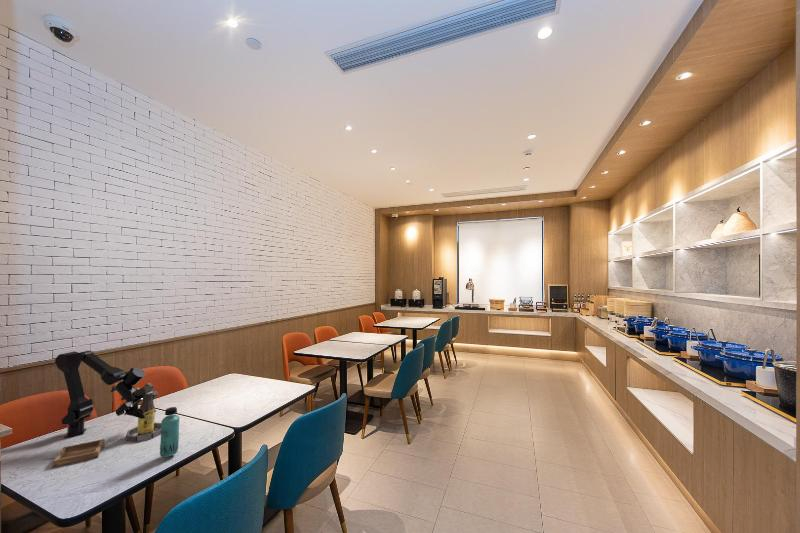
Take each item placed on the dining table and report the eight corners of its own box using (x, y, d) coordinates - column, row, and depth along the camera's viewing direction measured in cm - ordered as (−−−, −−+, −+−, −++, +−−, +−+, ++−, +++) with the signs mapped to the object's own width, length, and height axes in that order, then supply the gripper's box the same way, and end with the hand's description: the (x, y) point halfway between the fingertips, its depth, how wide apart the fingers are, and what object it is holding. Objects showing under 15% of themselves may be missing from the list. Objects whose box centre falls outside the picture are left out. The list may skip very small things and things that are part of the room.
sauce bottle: (144, 438, 148) (145, 395, 149) (133, 437, 149) (135, 394, 150) (157, 431, 154) (158, 390, 155) (147, 430, 156) (148, 389, 156)
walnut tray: (63, 453, 135) (63, 447, 135) (104, 444, 142) (104, 438, 142) (52, 468, 124) (53, 461, 124) (97, 457, 132) (98, 451, 132)
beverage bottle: (165, 452, 136) (167, 405, 137) (182, 452, 136) (183, 404, 137) (155, 461, 129) (157, 411, 130) (172, 460, 130) (174, 411, 131)
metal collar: (128, 432, 153) (128, 427, 154) (164, 425, 161) (164, 420, 162) (124, 445, 142) (124, 439, 142) (163, 436, 150) (163, 431, 150)
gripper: (122, 386, 144) (145, 411, 143) (155, 374, 162) (175, 396, 162) (105, 403, 144) (127, 428, 143) (139, 389, 162) (160, 411, 161)
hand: (149, 415), depth 152 cm, fingers closed on sauce bottle, 6 cm apart
